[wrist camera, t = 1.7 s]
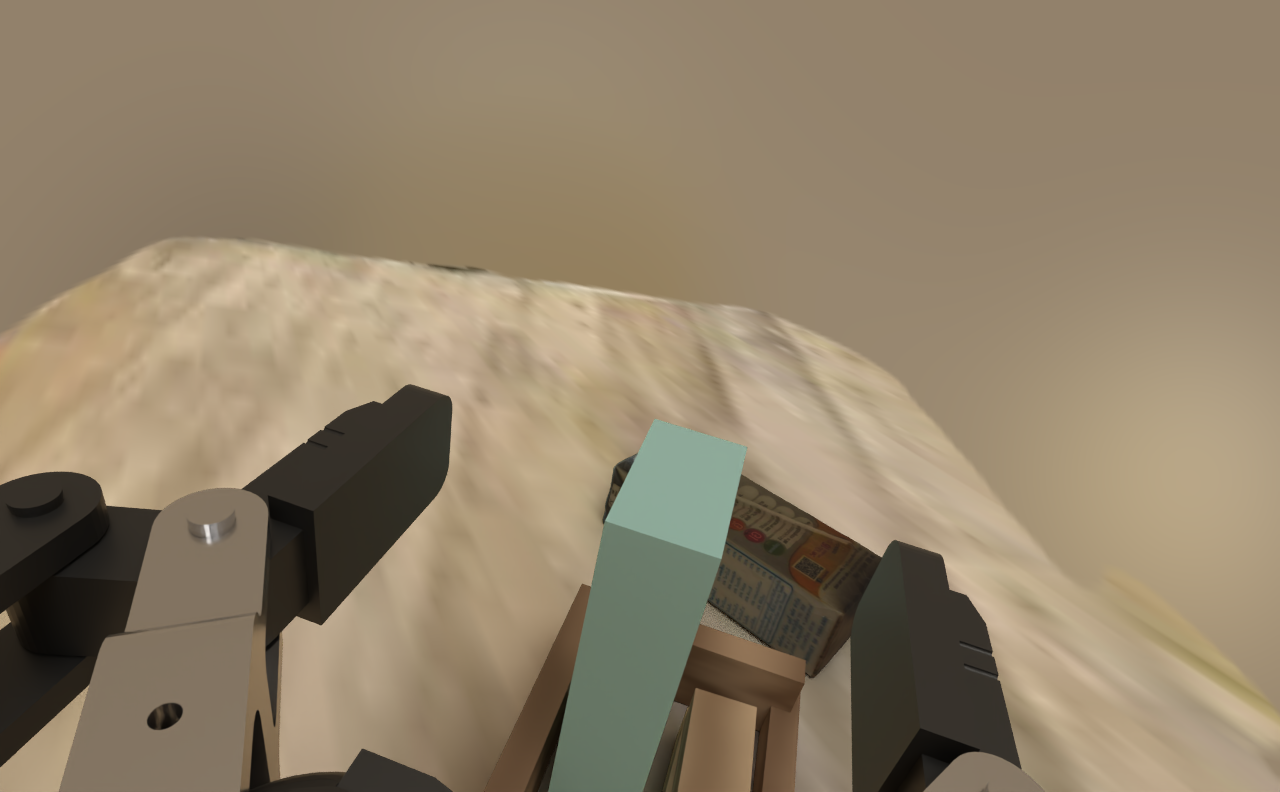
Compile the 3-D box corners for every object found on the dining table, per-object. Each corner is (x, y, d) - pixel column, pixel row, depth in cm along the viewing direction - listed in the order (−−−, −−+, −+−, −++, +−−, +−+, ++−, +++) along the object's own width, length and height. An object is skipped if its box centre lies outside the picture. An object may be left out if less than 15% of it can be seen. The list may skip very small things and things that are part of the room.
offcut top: (743, 737, 36) (756, 707, 34) (732, 857, 30) (747, 827, 29) (684, 718, 36) (695, 687, 35) (663, 834, 31) (675, 803, 29)
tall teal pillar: (653, 734, 38) (747, 446, 28) (618, 864, 32) (721, 559, 22) (586, 709, 38) (654, 419, 28) (539, 833, 33) (605, 520, 22)
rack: (788, 717, 40) (814, 663, 38) (762, 1051, 27) (799, 1002, 25) (570, 640, 42) (582, 583, 40) (446, 917, 29) (451, 859, 26)
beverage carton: (660, 485, 58) (677, 421, 55) (865, 622, 49) (900, 556, 45) (597, 524, 52) (611, 456, 49) (816, 689, 43) (852, 619, 40)
